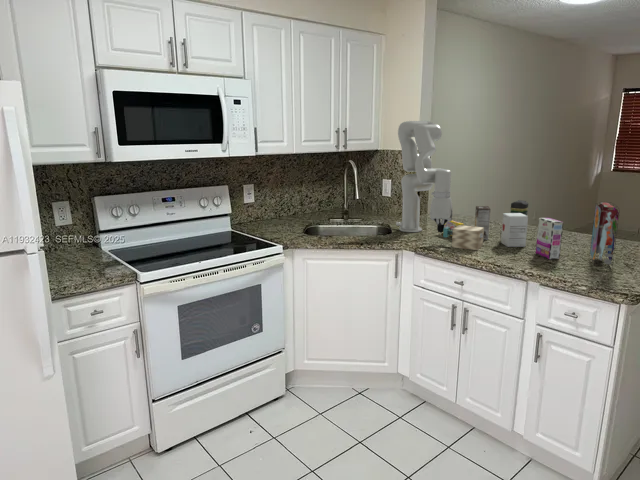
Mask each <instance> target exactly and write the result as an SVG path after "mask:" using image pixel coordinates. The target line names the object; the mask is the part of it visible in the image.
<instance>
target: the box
mask: <svg viewBox="0 0 640 480" xmlns="http://www.w3.org/2000/svg"><path fill="white" fill-rule="evenodd" d="M598 203H599V205H598ZM598 203H596V204H595V207H594V217H593V225H592V231H591V232H592V233H591V241H590V248H589V249H590V250H589V254H590V258H591V262H592V265H593V267H596V266H598V262H597V260H599V261H601V262H602V261H603V260H604V264H607V265H609V266H608V267H607V266H606V267H605V266H604V265H602V268H604V270H605V269H611V270H612V269H613V266H614V263H613V260H614V258H615V256H614V253H615V251H616V248H615V246H616V244H617V243H616V241H617V238H616V237H617V235H618V233H617V232H618V226H619V225H618V221H619V218H620V217H619V216H620V208H619V207H617V205H615V204H614V203H612V202H603V201H600V202H598ZM610 208H611V209H610ZM617 208H618V209H617ZM614 218H615V220H614ZM613 231H614V232H613ZM614 234H615V235H614ZM604 250H605V251H606V253H605V254H604ZM596 254H598V257H596ZM603 255H604V256H605V257H606V259H603ZM593 260H594V261H593ZM594 262H595V263H594ZM595 264H596V265H595ZM610 265H611V266H612V267H610ZM609 267H610V268H609Z"/></svg>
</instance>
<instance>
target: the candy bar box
mask: <svg viewBox="0 0 640 480" xmlns="http://www.w3.org/2000/svg"><path fill="white" fill-rule="evenodd" d="M537 226H538V227H537V235H536V245H535V254H536V255H538V256H540V257H543V258H545V259H547V260H560V257H561V249H562V248H561V247H562V239H563V231H564V228H563V227H564V221H561V220H557V219H554V218H551V217H539V218H538V225H537Z"/></svg>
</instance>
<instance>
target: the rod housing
mask: <svg viewBox="0 0 640 480" xmlns="http://www.w3.org/2000/svg"><path fill="white" fill-rule="evenodd" d="M480 233H482V234H483V235H484V227H475V225H474V226H473V225H472V226H471V225H464V226H463V225H458V226H457V227H455V228H453V235H452V236H451V238H452V239H451V248H455V249H456V248H457V249H466V250H474V251H478V250H480V248H483V246H484V240H483V237H482V238H480Z"/></svg>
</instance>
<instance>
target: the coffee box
mask: <svg viewBox="0 0 640 480" xmlns="http://www.w3.org/2000/svg"><path fill="white" fill-rule="evenodd" d="M474 215H475V216H474V227H484V235H483V241H484V240H487V241H488V240H489V236H490V234H489V233H490V221H491V220H490V219H491V208H490V207H489V206H488V205H475V214H474Z"/></svg>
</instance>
